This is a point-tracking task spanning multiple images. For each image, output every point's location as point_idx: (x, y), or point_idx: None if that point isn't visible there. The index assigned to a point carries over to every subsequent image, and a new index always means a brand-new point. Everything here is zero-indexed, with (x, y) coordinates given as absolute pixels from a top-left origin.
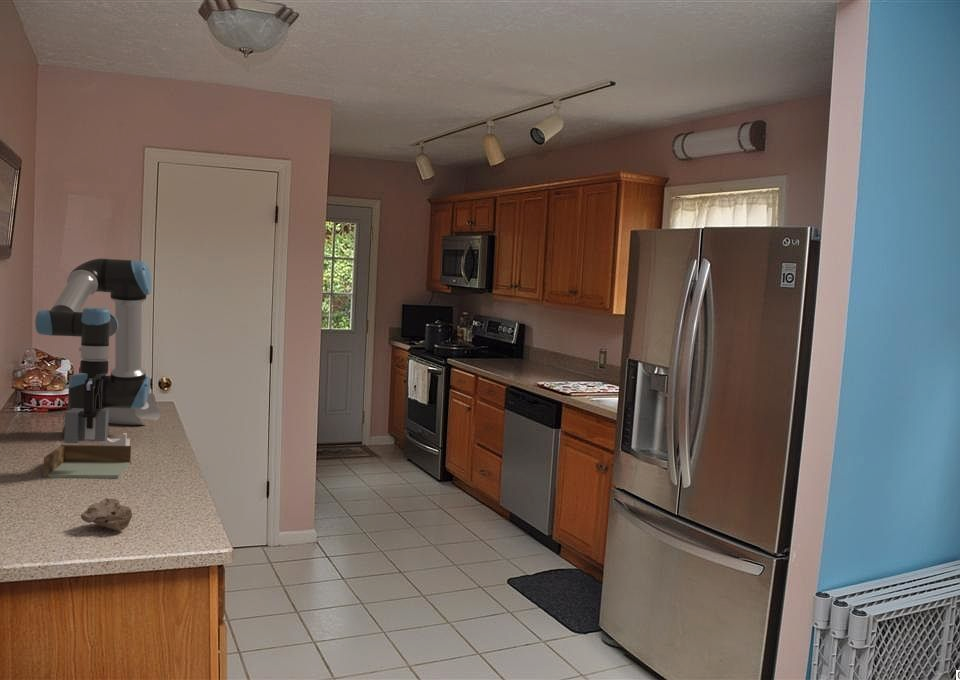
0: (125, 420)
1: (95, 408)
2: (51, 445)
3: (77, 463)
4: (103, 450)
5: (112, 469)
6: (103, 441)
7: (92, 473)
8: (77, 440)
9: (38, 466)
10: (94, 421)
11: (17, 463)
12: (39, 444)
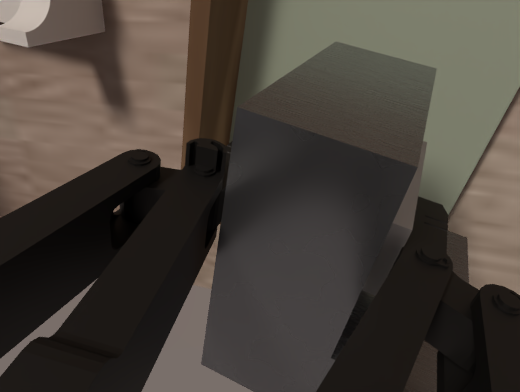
0: None
1: (379, 294)
2: (5, 167)
3: None
4: (217, 40)
5: None
6: (56, 35)
7: (477, 89)
8: (466, 248)
9: None
10: (412, 214)
11: (203, 270)
12: (3, 192)
